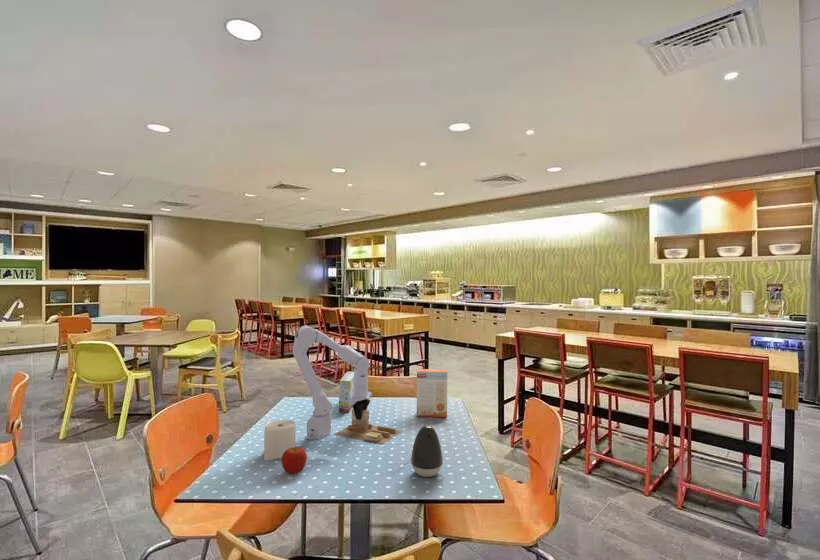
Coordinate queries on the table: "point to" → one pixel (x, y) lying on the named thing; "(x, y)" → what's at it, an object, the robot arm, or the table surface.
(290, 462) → the apple
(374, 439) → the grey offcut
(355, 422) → the birch board
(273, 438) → the toilet tissue
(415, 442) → the dark grey egg shape
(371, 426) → the rack
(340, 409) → the snack box
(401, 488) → the table surface
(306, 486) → the table surface
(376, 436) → the oak offcut
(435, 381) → the cracker box
